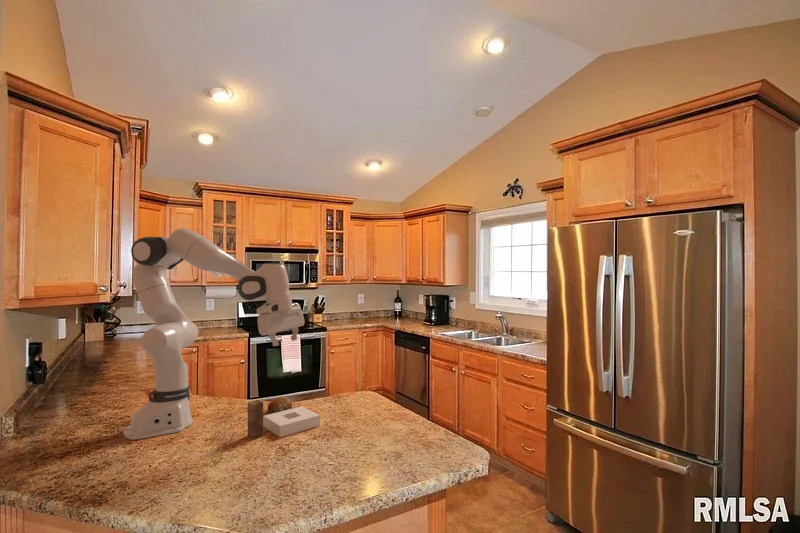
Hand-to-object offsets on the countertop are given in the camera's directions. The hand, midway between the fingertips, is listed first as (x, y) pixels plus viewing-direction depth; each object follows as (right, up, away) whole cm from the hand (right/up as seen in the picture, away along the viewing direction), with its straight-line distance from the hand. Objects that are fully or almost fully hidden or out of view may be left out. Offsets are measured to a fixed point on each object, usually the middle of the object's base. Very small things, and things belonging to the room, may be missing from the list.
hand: (285, 342), depth 154 cm
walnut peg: (-9, -32, -6) cm, 34 cm away
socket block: (+1, -32, +4) cm, 32 cm away
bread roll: (-8, -33, +20) cm, 39 cm away
